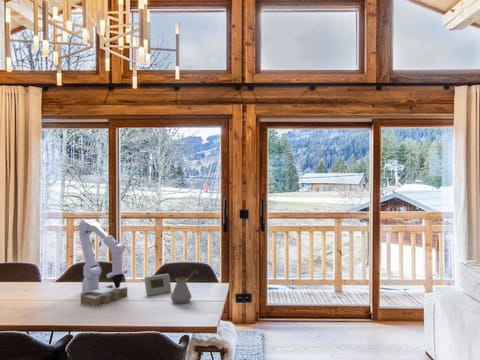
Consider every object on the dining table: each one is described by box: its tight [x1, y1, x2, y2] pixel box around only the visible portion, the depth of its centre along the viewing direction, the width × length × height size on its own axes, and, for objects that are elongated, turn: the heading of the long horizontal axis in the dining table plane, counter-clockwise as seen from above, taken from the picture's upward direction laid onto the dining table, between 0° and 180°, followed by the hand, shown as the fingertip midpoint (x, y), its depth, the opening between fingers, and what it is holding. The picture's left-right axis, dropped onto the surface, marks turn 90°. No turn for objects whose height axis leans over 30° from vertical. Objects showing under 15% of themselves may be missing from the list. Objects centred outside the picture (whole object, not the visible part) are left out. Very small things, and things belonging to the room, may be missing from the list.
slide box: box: [80, 284, 128, 307], centre depth 222 cm, size 22×13×5 cm, turn 152°
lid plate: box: [91, 286, 117, 295], centre depth 221 cm, size 10×9×2 cm
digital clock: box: [144, 273, 172, 297], centre depth 236 cm, size 16×9×11 cm, turn 115°
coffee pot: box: [170, 269, 199, 305], centre depth 222 cm, size 21×12×15 cm, turn 153°
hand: (117, 287), depth 230 cm, fingers closed
